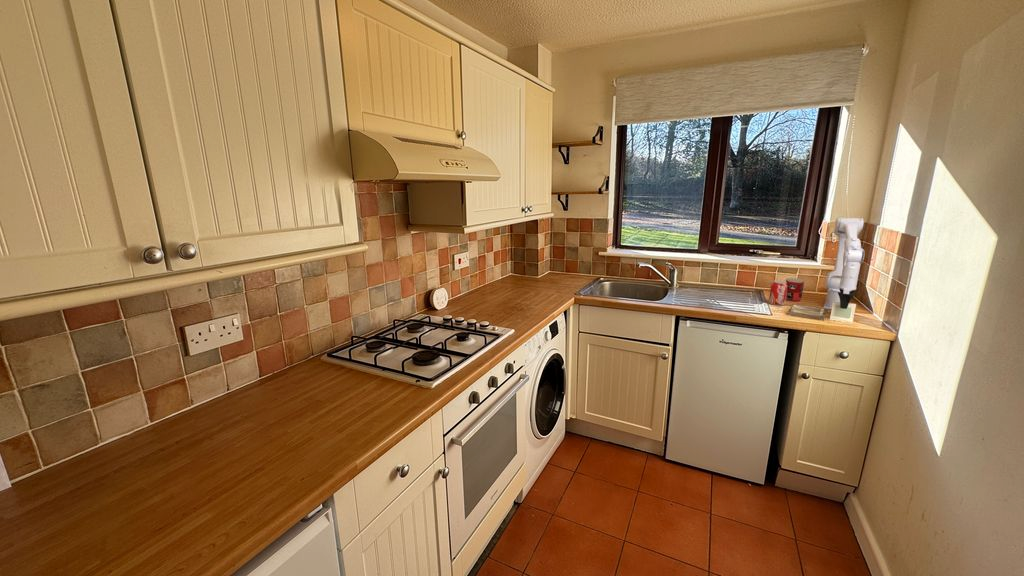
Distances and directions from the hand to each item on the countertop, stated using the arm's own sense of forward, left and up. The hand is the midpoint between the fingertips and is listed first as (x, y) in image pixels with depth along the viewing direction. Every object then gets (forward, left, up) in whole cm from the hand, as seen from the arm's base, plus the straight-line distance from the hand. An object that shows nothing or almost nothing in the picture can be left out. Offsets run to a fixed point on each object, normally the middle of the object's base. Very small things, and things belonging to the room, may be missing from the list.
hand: (843, 306), depth 185 cm
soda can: (-11, -27, -7) cm, 30 cm away
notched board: (-4, -13, -6) cm, 15 cm away
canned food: (-26, -22, -7) cm, 35 cm away
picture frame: (0, 0, -7) cm, 7 cm away
